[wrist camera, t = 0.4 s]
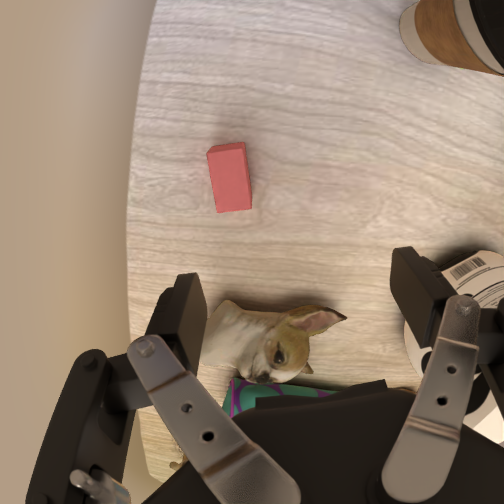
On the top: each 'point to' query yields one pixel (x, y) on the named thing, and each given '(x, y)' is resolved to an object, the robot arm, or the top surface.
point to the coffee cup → (456, 33)
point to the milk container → (488, 296)
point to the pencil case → (261, 394)
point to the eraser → (230, 177)
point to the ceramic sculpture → (264, 340)
